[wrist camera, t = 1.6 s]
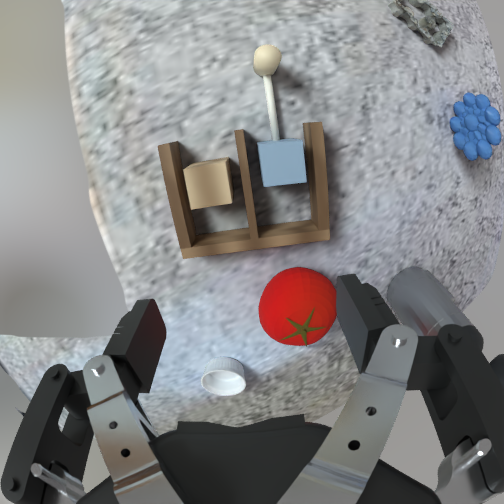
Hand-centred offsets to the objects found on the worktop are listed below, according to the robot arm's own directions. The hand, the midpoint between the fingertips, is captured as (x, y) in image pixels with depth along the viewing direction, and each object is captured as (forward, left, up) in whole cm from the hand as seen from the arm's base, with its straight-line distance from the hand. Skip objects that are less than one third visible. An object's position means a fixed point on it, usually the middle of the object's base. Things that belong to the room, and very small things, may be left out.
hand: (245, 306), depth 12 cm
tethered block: (-5, -9, -28) cm, 30 cm away
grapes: (-36, -8, -28) cm, 46 cm away
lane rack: (0, 0, -28) cm, 28 cm away
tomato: (-5, +18, -28) cm, 34 cm away
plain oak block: (+4, -1, -28) cm, 29 cm away
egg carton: (-31, -27, -29) cm, 50 cm away
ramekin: (+10, +36, -28) cm, 47 cm away
